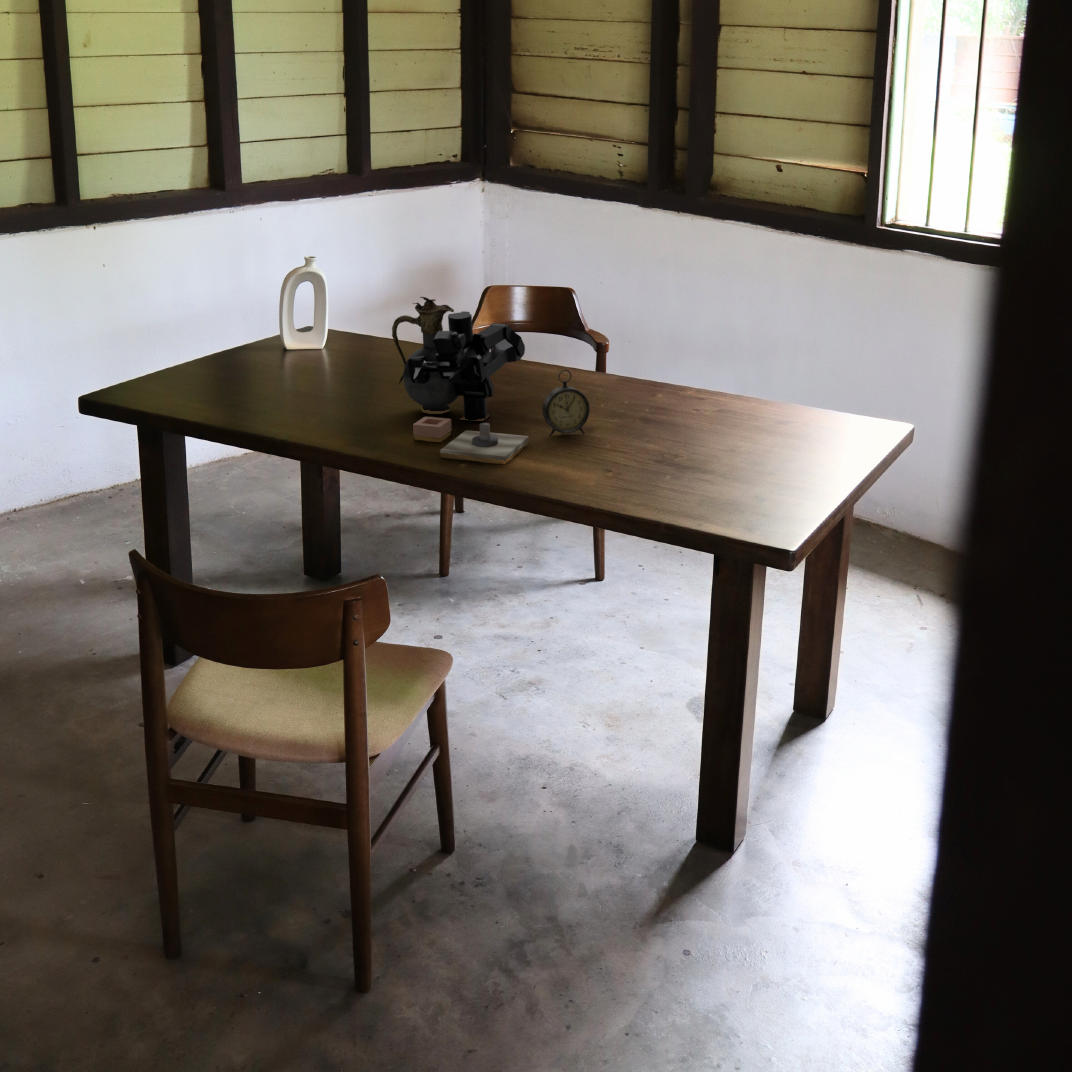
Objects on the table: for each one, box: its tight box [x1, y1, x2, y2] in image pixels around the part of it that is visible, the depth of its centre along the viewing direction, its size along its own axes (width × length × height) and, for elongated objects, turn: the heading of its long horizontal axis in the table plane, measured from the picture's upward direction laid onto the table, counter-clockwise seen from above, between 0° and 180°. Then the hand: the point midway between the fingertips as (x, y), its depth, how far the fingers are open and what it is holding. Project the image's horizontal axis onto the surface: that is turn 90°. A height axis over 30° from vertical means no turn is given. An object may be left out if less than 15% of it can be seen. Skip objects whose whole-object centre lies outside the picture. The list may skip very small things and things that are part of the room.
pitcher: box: [391, 296, 459, 411], centre depth 303 cm, size 11×19×30 cm, turn 70°
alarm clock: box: [541, 369, 591, 437], centre depth 286 cm, size 11×5×16 cm, turn 105°
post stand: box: [439, 422, 530, 461], centre depth 276 cm, size 16×16×6 cm
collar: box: [412, 416, 453, 438], centre depth 287 cm, size 7×7×4 cm
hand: (431, 381), depth 274 cm, fingers open, 9 cm apart
